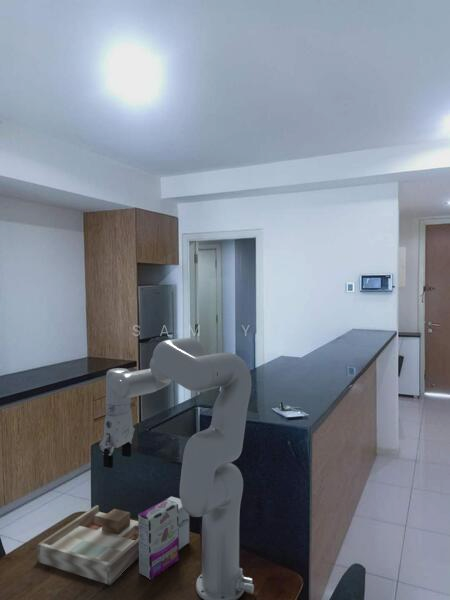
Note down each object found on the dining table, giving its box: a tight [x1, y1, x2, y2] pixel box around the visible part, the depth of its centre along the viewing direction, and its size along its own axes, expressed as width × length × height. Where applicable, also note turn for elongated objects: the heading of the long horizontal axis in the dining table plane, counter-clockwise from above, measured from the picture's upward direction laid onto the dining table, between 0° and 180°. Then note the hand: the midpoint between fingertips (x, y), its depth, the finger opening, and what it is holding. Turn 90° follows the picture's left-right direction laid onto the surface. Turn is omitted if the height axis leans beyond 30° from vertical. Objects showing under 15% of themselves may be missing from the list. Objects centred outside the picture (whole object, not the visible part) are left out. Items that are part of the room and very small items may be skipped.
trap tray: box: [37, 504, 139, 586], centre depth 131 cm, size 25×25×5 cm
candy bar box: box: [137, 498, 180, 581], centre depth 123 cm, size 11×5×16 cm, turn 143°
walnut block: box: [102, 508, 131, 535], centre depth 137 cm, size 6×6×4 cm
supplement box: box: [167, 496, 190, 550], centre depth 133 cm, size 7×7×13 cm
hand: (117, 461), depth 141 cm, fingers open, 9 cm apart
